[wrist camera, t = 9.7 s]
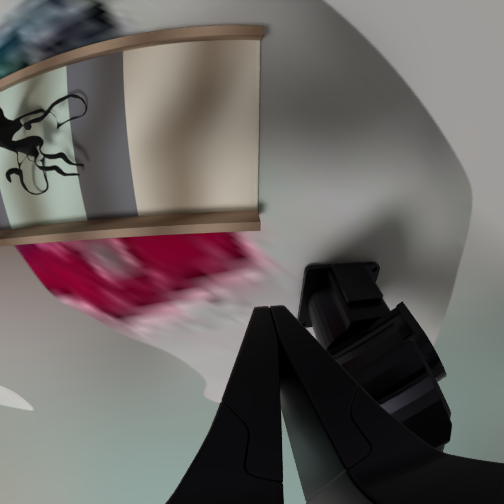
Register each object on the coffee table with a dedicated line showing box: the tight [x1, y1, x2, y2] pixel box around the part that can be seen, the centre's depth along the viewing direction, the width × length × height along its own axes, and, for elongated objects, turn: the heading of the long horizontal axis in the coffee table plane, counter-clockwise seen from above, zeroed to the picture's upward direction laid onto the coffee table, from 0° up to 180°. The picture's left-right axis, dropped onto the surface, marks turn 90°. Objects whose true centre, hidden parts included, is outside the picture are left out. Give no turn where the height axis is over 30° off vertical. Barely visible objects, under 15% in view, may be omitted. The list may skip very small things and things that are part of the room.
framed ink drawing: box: [0, 25, 264, 246], centre depth 15 cm, size 24×12×2 cm, turn 89°
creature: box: [0, 94, 87, 195], centre depth 13 cm, size 8×5×8 cm
